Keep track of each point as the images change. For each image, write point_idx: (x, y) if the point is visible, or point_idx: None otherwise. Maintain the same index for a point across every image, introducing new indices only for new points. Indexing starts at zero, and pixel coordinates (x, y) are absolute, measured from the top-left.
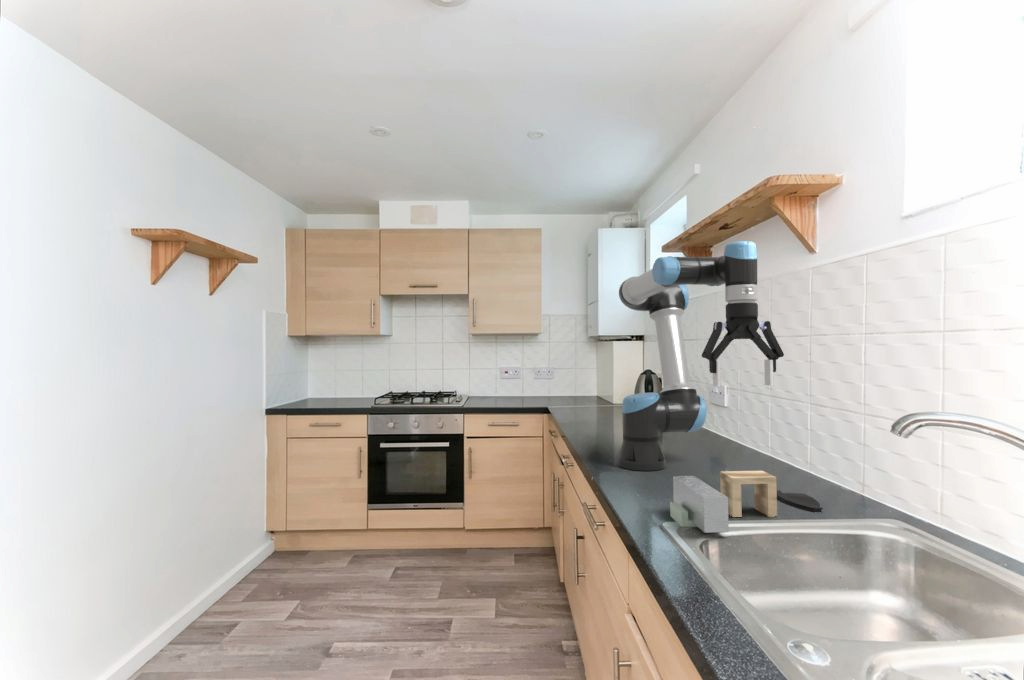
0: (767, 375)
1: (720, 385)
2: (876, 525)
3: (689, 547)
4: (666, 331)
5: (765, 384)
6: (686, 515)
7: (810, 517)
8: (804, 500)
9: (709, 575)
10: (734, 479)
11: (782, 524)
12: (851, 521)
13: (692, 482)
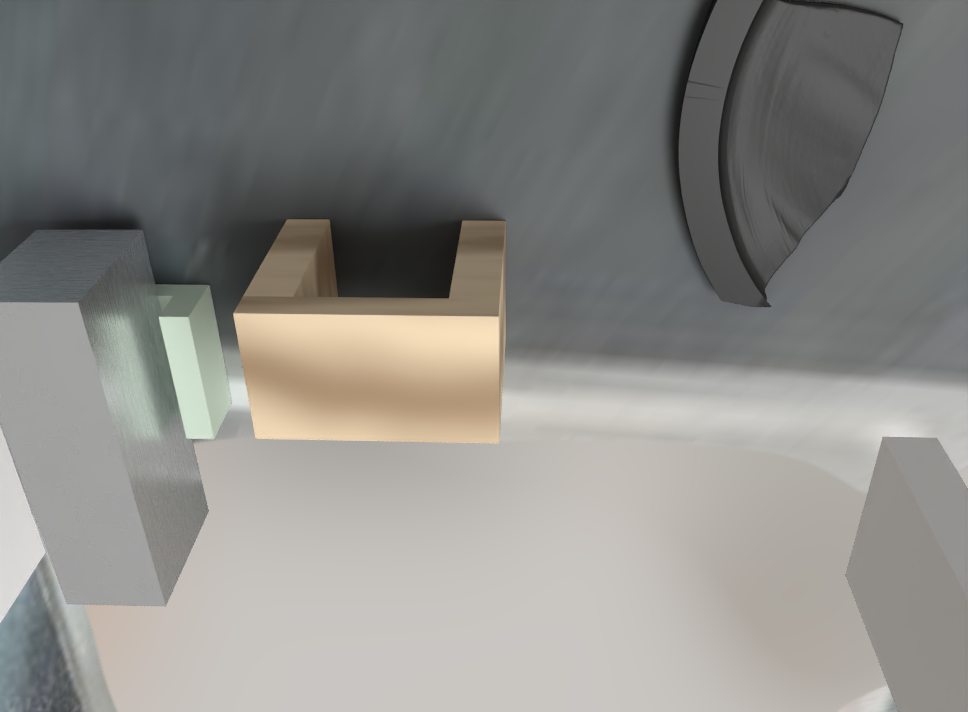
0: (924, 639)
1: (36, 561)
2: (848, 446)
3: None
4: None
5: (882, 457)
6: None
7: (651, 348)
8: (796, 148)
9: (92, 675)
10: (268, 435)
11: None
12: (788, 402)
13: (51, 419)
